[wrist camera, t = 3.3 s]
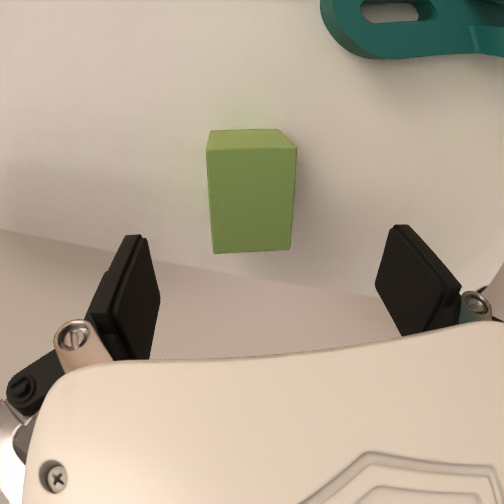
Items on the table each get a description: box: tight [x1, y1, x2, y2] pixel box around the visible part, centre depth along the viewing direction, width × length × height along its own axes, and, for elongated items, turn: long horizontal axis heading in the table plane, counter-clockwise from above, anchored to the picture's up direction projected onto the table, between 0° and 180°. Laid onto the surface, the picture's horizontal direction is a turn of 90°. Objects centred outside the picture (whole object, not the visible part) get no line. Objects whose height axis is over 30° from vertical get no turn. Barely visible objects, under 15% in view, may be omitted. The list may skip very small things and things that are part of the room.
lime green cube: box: [206, 129, 297, 254], centre depth 17 cm, size 4×6×5 cm
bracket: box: [320, 0, 504, 59], centre depth 9 cm, size 18×7×8 cm, turn 110°
